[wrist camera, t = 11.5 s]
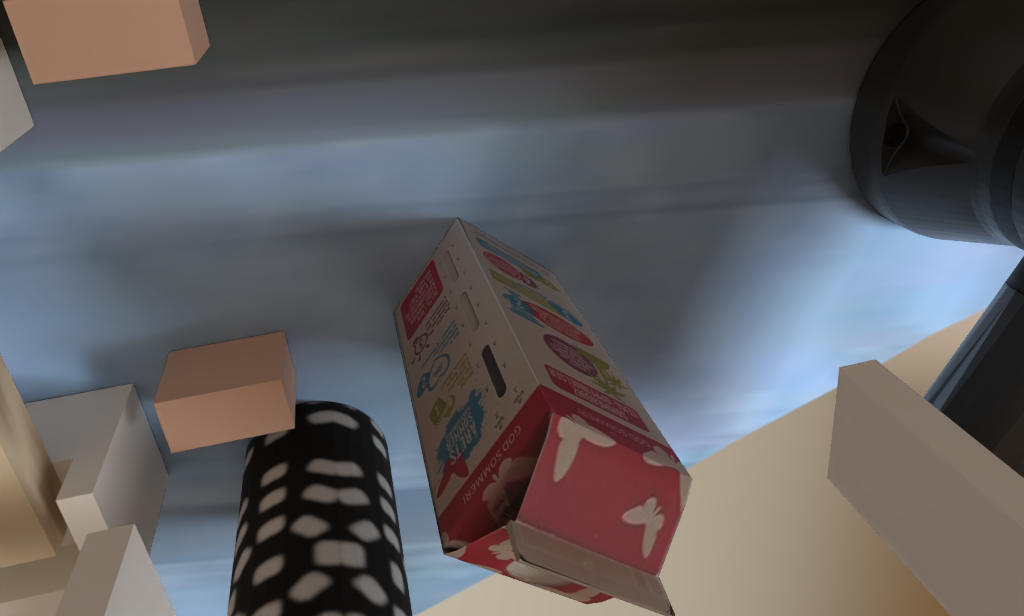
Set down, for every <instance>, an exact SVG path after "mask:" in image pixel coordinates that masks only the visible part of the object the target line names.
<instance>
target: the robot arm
mask: <svg viewBox="0 0 1024 616" xmlns="http://www.w3.org/2000/svg"><path fill="white" fill-rule="evenodd" d="M851 158H852V165H853V170H854V174H855V177H856V180H857V183H858V185H859V187H860V189H861V191H862V193H863V195H864V196H865V198H866V199H867V201H868V202H869V203H870V204H871V205H872V207H873V208H874V209H875V210H877V211H878V212H879V213H880V214H881V215H883V216H884V217H886V218H888V219H889V220H891V221H893V222H895V223H897V224H899V225H901V226H903V227H904V228H906V229H908V230H910V231H912V232H915V233H917V234H920V235H923V236H927V237H930V238H935V239H942V240H953V241H964V242H976V243H987V244H998V245H1009V246H1016V247H1018V248H1021V249H1023V250H1024V0H925V1H924V2H923V3H922V4H921V5H919V6H918V7H917V8H916V9H915V10H914V11H913V12H912V13H911V14H910V15H908V17H907V18H906V19H905V20H904V21H903V22H902V23H901V24H900V25H899V26H898V28H897V29H896V30H895V31H894V32H893V34H892V35H891V36H890V38H889V39H888V40H887V42H886V43H885V44H884V46H883V47H882V49H881V50H880V52H879V54H878V55H877V57H876V59H875V60H874V62H873V64H872V66H871V68H870V70H869V72H868V74H867V76H866V78H865V81H864V83H863V86H862V88H861V91H860V94H859V97H858V100H857V104H856V107H855V111H854V116H853V122H852V129H851ZM827 478H828V479H829V480H830V481H831V482H832V483H833V485H834V486H835V487H836V488H837V489H838V490H839V491H840V492H841V493H842V495H843V496H844V497H845V498H846V499H847V500H848V501H849V502H850V503H851V505H852V506H853V507H854V508H855V509H856V510H857V511H858V512H859V514H860V515H861V516H862V517H863V518H864V519H865V520H866V521H867V522H868V524H869V525H870V526H871V527H872V528H873V529H874V530H875V531H876V533H877V534H878V535H879V536H880V537H881V538H882V539H883V540H884V541H885V543H886V544H887V545H888V546H889V547H890V548H891V549H892V550H893V551H894V552H895V554H896V555H897V556H898V557H899V558H900V559H901V560H902V562H903V563H904V564H905V565H906V566H907V567H908V568H909V569H910V570H911V572H912V573H913V574H914V575H915V576H916V577H917V578H918V579H919V580H920V582H921V583H922V584H923V585H924V586H925V587H926V588H927V589H928V591H929V592H930V593H931V594H932V595H933V596H934V597H935V598H936V599H937V601H938V602H939V603H940V604H941V605H942V606H943V607H944V608H945V609H946V610H947V612H948V613H949V614H950V615H951V616H1024V256H1023V258H1022V259H1021V261H1020V262H1019V264H1018V265H1017V267H1016V268H1015V269H1014V271H1013V272H1012V274H1011V275H1010V276H1009V278H1008V279H1007V281H1006V282H1005V283H1004V285H1003V286H1002V288H1001V289H1000V290H999V292H998V293H997V295H996V296H995V298H994V299H993V300H992V302H991V303H990V305H989V306H988V307H987V309H986V310H985V312H984V313H983V314H982V316H981V317H980V319H979V320H978V321H977V323H976V324H975V326H974V327H973V328H972V330H971V331H970V333H969V334H968V335H967V337H966V338H965V340H964V341H963V342H962V344H961V345H960V347H959V348H958V349H957V351H956V352H955V354H954V355H953V357H952V358H951V359H950V361H949V362H948V363H947V365H946V366H945V368H944V369H943V370H942V372H941V373H940V375H939V376H938V377H937V379H936V380H935V382H934V383H933V384H932V386H931V387H930V389H929V390H928V391H927V393H926V394H925V396H924V397H921V396H920V395H919V394H918V393H917V392H915V391H914V390H913V389H912V388H910V387H909V386H908V385H907V384H905V383H904V382H903V381H902V380H900V379H899V378H898V377H897V376H895V375H894V374H893V373H892V372H890V371H889V370H888V369H887V368H885V367H884V366H883V365H882V364H880V363H879V362H878V361H877V360H871V361H866V362H862V363H857V364H853V365H848V366H844V367H839V376H838V386H837V395H836V404H835V413H834V423H833V431H832V440H831V450H830V459H829V469H828V477H827ZM55 616H176V614H175V611H174V609H173V607H172V605H171V603H170V600H169V598H168V596H167V594H166V592H165V589H164V587H163V585H162V583H161V581H160V579H159V576H158V574H157V572H156V570H155V568H154V565H153V563H152V561H151V559H150V557H149V554H148V552H147V550H146V548H145V546H144V543H143V541H142V539H141V537H140V535H139V532H138V530H137V528H136V526H135V524H130V525H125V526H121V527H116V528H112V529H107V530H103V531H98V532H94V533H89V534H87V536H86V539H85V541H84V544H83V546H82V549H81V551H80V554H79V556H78V559H77V561H76V564H75V566H74V569H73V571H72V574H71V576H70V579H69V581H68V584H67V586H66V589H65V591H64V594H63V596H62V599H61V601H60V604H59V606H58V609H57V611H56V614H55Z"/></svg>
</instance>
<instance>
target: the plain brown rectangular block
mask: <svg viewBox="0 0 1024 616" xmlns="http://www.w3.org/2000/svg"><path fill="white" fill-rule="evenodd" d="M3 4H4V7H5V9H6V12H7V15H8V17H9V20H10V23H11V25H12V28H13V31H14V33H15V36H16V39H17V41H18V44H19V47H20V49H21V52H22V55H23V57H24V60H25V63H26V65H27V68H28V71H29V74H30V76H31V79H32V82H33V84H42V83H50V82H58V81H66V80H74V79H83V78H91V77H99V76H107V75H115V74H123V73H131V72H139V71H147V70H156V69H164V68H172V67H180V66H188V65H196V64H197V62H198V61H199V60H200V58H201V57H202V56H203V54H204V53H205V52H206V50H207V49H208V48H209V46H210V43H209V40H208V36H207V32H206V28H205V24H204V20H203V17H202V13H201V9H200V5H199V1H198V0H4V1H3ZM295 398H296V375H295V371H294V367H293V363H292V359H291V355H290V351H289V348H288V344H287V340H286V336H285V332H284V331H281V332H276V333H270V334H265V335H259V336H254V337H248V338H243V339H237V340H232V341H226V342H221V343H215V344H210V345H204V346H199V347H193V348H188V349H182V350H177V351H171V352H169V355H168V358H167V362H166V365H165V368H164V371H163V374H162V377H161V380H160V384H159V387H158V390H157V393H156V396H155V399H154V402H153V405H154V408H155V410H156V413H157V416H158V418H159V421H160V424H161V426H162V429H163V432H164V435H165V437H166V440H167V443H168V445H169V448H170V451H171V453H176V452H181V451H186V450H191V449H195V448H200V447H205V446H210V445H215V444H220V443H225V442H230V441H235V440H240V439H245V438H250V437H255V436H260V435H264V434H269V433H274V432H279V431H284V430H289V429H294V428H295Z"/></svg>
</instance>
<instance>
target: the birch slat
mask: <svg viewBox="0 0 1024 616" xmlns="http://www.w3.org/2000/svg"><path fill="white" fill-rule="evenodd" d="M61 487H62V483H61V481H60V479H59V477H58V475H57V473H56V471H55V469H54V466H53V464H52V462H51V460H50V458H49V456H48V454H47V452H46V449H45V447H44V445H43V443H42V441H41V439H40V437H39V435H38V432H37V430H36V428H35V426H34V424H33V422H32V420H31V418H30V416H29V413H28V411H27V409H26V407H25V405H24V403H23V401H22V399H21V396H20V394H19V392H18V390H17V388H16V386H15V384H14V382H13V380H12V377H11V375H10V373H9V371H8V369H7V367H6V365H5V363H4V360H3V358H2V356H1V354H0V568H3V567H8V566H12V565H17V564H21V563H26V562H31V561H35V560H40V559H44V558H49V557H53V556H57V554H58V551H59V549H60V546H61V543H62V541H63V538H64V536H65V533H66V531H67V528H68V526H67V524H66V522H65V520H64V517H63V515H62V513H61V511H60V509H59V507H58V505H57V503H56V498H57V496H58V494H59V491H60V489H61Z"/></svg>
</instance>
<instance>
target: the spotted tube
mask: <svg viewBox="0 0 1024 616" xmlns="http://www.w3.org/2000/svg"><path fill="white" fill-rule="evenodd" d="M227 616H412V610H411V603H410V597H409V590H408V583H407V576H406V569H405V563H404V556H403V549H402V542H401V536H400V529H399V522H398V515H397V508H396V502H395V495H394V488H393V481H392V475H391V468H390V461H389V454H388V447H387V443H386V440H385V437H384V435H383V433H382V431H381V430H380V428H379V427H378V425H377V424H376V423H375V422H374V421H373V420H372V419H371V418H370V417H369V416H367V415H365V414H364V413H362V412H361V411H359V410H357V409H355V408H352V407H350V406H348V405H344V404H339V403H335V402H320V401H318V402H309V403H303V404H299V405H295V428H294V429H289V430H284V431H279V432H274V433H269V434H264V435H260V436H255V437H252V439H251V440H250V442H249V445H248V448H247V451H246V458H245V467H244V476H243V484H242V493H241V501H240V510H239V519H238V527H237V536H236V545H235V553H234V562H233V570H232V579H231V588H230V596H229V605H228V614H227Z"/></svg>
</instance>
